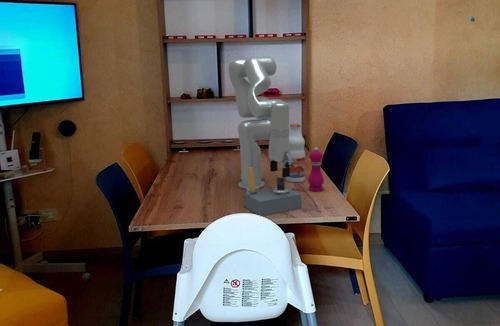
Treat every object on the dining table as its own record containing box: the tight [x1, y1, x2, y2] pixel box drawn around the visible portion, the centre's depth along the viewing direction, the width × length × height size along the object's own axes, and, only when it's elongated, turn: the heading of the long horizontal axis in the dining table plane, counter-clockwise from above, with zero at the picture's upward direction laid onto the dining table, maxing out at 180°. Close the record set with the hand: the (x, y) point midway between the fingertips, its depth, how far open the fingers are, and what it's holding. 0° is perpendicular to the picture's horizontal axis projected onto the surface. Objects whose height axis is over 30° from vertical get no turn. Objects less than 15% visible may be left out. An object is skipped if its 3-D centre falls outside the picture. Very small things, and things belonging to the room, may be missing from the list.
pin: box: [273, 176, 290, 195], centre depth 200 cm, size 6×6×12 cm
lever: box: [247, 167, 256, 193], centre depth 198 cm, size 11×2×2 cm
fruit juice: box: [285, 123, 306, 183], centre depth 236 cm, size 9×9×28 cm
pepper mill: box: [307, 147, 325, 193], centre depth 220 cm, size 7×7×20 cm
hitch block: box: [243, 186, 302, 217], centre depth 199 cm, size 14×19×8 cm
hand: (279, 173), depth 199 cm, fingers open, 9 cm apart
